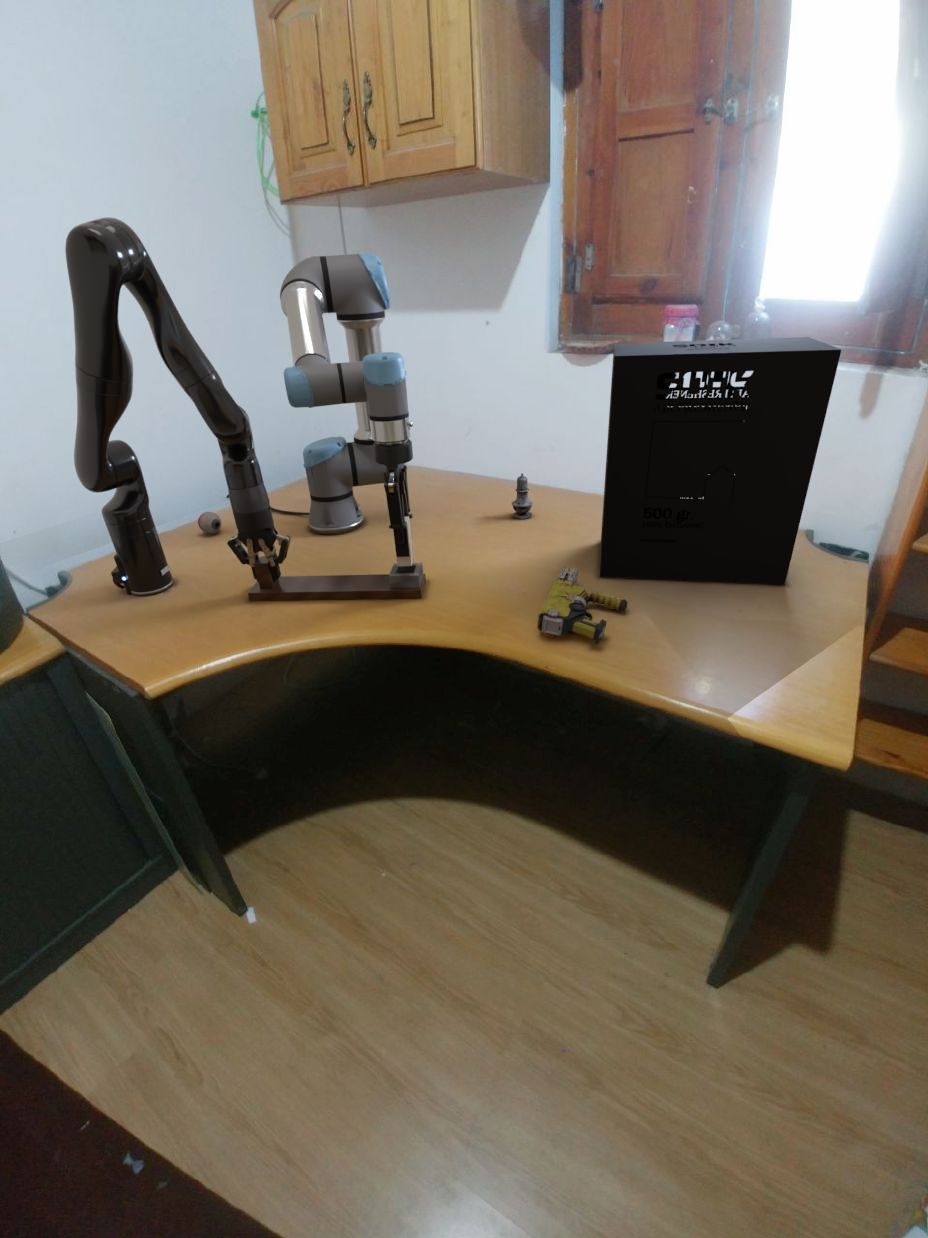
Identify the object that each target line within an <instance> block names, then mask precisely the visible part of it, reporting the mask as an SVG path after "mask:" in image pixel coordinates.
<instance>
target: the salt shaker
mask: <svg viewBox="0 0 928 1238" xmlns="http://www.w3.org/2000/svg"><path fill="white" fill-rule="evenodd" d="M529 490H530V489H529V488H528V477H527V476H525V475H524V472H521V474H520V476H518V477H517V478H516V488H515V492H516V498H515V500H514V501H511V505H512V509H513V510H514V513H512V517H513V518H515V519H518V520H519V519H521V520H523V519H529V518H532V516H533V514H532V513H531V512H530V511H531V509H532V506H533V504H534V502H533V501H532V500H530V499H529Z"/></svg>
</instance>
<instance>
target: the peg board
mask: <svg viewBox="0 0 928 1238" xmlns="http://www.w3.org/2000/svg"><path fill="white" fill-rule="evenodd" d="M270 566H271V565H270V563H269V561H268V559H267V558H266V557H265V555H260V556H259V558H258V560H257V561H256V562H255V563H254V567H255V571H256V575H257V579H258V582H257V581H256V582H254V585H253V586H252V587H251V588H250V590H249V591H248V592H247V596H248V599H249V602H274V601H275V602H276V601H279V602H280V601H323V600H324V601H325V600H326V601H327V600H329V601H331V600H333V601H334V600H374V599H375V600H380V599H382V600H386V599H389V600H391V599H422V598H423V594H424V590H425V587H426V582H427V576H426V573H424V566H423V562H413V563H412V566H398V564H397V562H395V563H394V562H393V564H392V567H391V569H390V571H389V573H385V574H384V573H383V574H380V573H378V574H377V573H376V574H340V575H339V574H338V575H337V574H335V575H334V574H333V575H331V574H330V575H289V576H287V575H286V576H285V575H284V576H283V575H281V576H280V578H279V579H278V580H277V581H273V578H272V574H271V570H270ZM257 579H256V580H257Z"/></svg>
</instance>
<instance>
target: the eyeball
mask: <svg viewBox="0 0 928 1238" xmlns="http://www.w3.org/2000/svg"><path fill="white" fill-rule="evenodd" d="M197 526H198V527H199V529H200V530H201V531H202V532H203V533H205V534H215V533H217V532H219V531H220V529H221V527H222V519H221V517H220V515H218V514H217V513H216V512H213V511H205V512H203V513H201V514H200V515H199V517H198V520H197Z"/></svg>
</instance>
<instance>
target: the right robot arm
mask: <svg viewBox="0 0 928 1238" xmlns="http://www.w3.org/2000/svg"><path fill="white" fill-rule="evenodd" d="M386 277H387V276H386V273H385V269H384V266H383V263H382V262H381V259H380V258H379V257H378V256H377V255H376V254H372V253H359V252H357V253H352V254H338V255H337V254H335V255H321V256H320V255H313V256H310V257H306V258H304V259H303V260H301V261H299V262H298V263H297V264H295V265H294V266H293V267H292V268H291V269H290V270H289V271H288V273H286V276H285V277H284V278H283V281H282V283H281V286H280V290H279V300H280V301H279V302H280V306H281V310H282V312H283V314H284V316H285V317H286V319H287V327H288V335H289V342H290V349H291V356H292V357H291V358H292V364H293V366H289V367H285V368H284V370H283V380H284V385H285V386H284V387H285V391H286V397H287V401H288V404H289V405H290V406H291V407H292V408H295V409H298V408H309V409H312V408H316V407H317V408H319V407H325V406H334V405H344V404H345V405H346V404H354V407H355V408H354V409H355V415H356V416H355V417H356V422H357V429H356V430H355V431H354V433H353V435H352V437H353V441H350V442H349V441H348V442H347V440H346V439H345V437H343V436H331V437H325V438H321V439H318V440H315V441H313V442H310V443H309V444H308V445H306V446H305V447H304V448H303V450H302V457H303V468H304V469H305V474H306V475H305V476H306V481H307V486H308V492H309V498H310V507H309V512H302V511H289V510H284V509H283V510H282V509H278V508H274V507H272V506H270V508H271V512H276V513H279V514H287V515H297V516H308V521H307V524H308V528H309V529H308V530H310V531H311V532H312V533H314V534H317V535H323V536H324V535H325V536H327V535H329V536H331V535H339V534H340V535H341V534H345V533H350V532H353V531H355V530H357V529H359V528H361V527H362V526H363V525H364V523H365V519H364V514H363V512H362V510H361V505H360V503H358V501H357V500H356V498H355V495H354V489H353V488H354V487H363V486H371V485H379V484H381V485H382V484H383V488H384V491H385V492H384V493H385V497H386V503H387V510H388V518H389V526H388V529H389V530H392V531H393V541H394V547H395V556H396V557H395V558H397V557H409V556H410V554H409V544H408V535H407V526H406V524H405V517H406V516H409V520H410V519H413V513H410V512H411V508H410V507H411V506H410V497H409V485H408V466H407V465H406V464H407V463H409V462H411V461H412V460H413V459H414V452H413V442H412V441H411V439H410V438H411V436H412V433H411V428H412V427H414V423H413V421H410V413H409V404H408V390H407V379H406V378H407V377H406V376H407V371H406V369H405V361H404V357H403V355H402V354H401V353H399V352H394V351H388V352H387V351H385V352H384V350H383V341H382V333H381V324H382V323H383V322H384V320H385V319H386V313H385V312H386V311H388V310H389V309H390V308H391V297H390V291H389V286H388V282H387V281H388V280H387V278H386ZM323 314H335V316H336V321H337V323H339V324H340V325H341V326H342V327H343V328H344V335H345V342H346V349H347V357H348V361H347V362H336V363H335V362H334V363H332V361H331V356H330V349H329V345H328V344H329V343H328V339H327V336H326V335H327V334H326V328H325V323H324V318H323ZM225 497H226V499H227V498H228V499H229V493H228V494H227V495H226V496H225Z"/></svg>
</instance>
